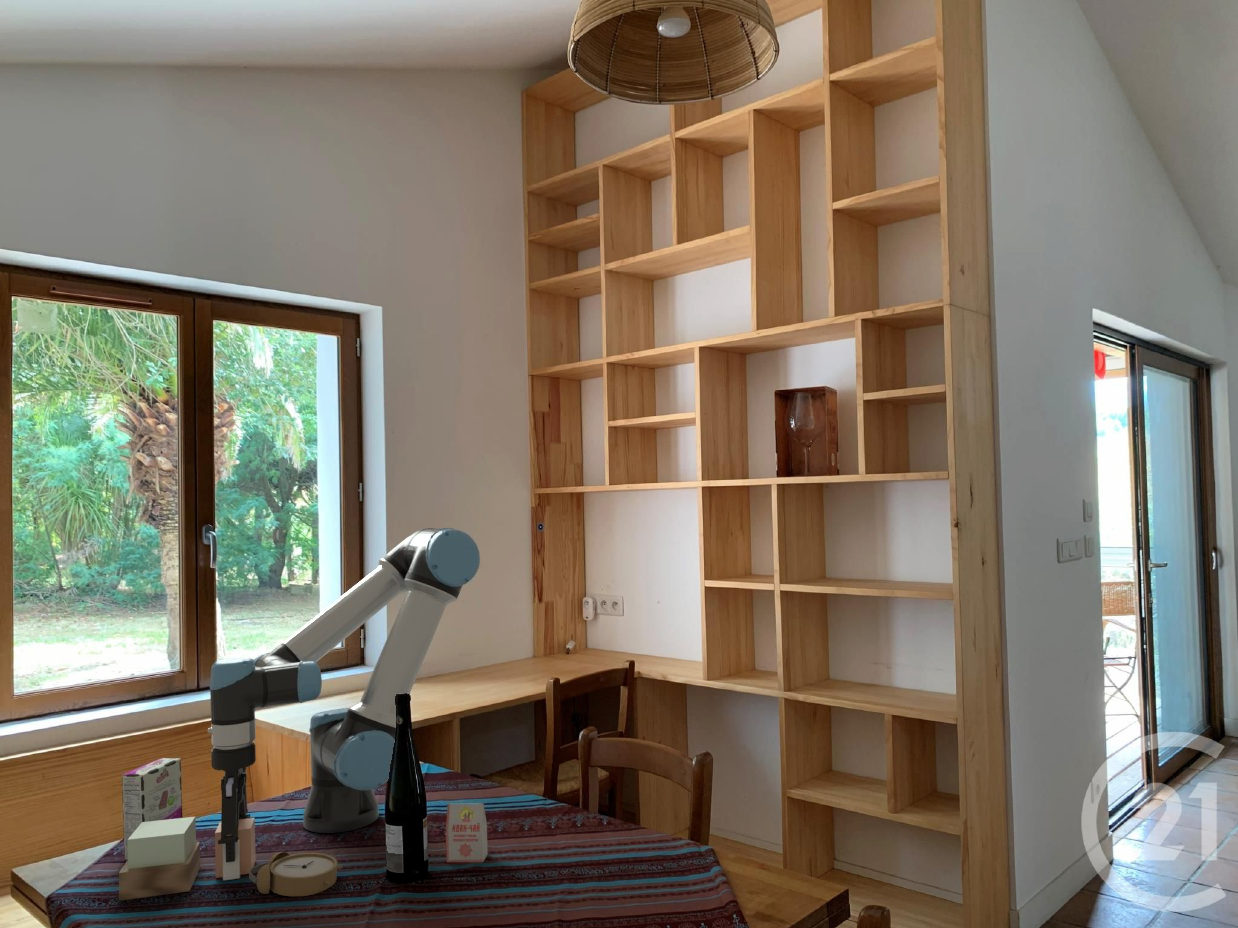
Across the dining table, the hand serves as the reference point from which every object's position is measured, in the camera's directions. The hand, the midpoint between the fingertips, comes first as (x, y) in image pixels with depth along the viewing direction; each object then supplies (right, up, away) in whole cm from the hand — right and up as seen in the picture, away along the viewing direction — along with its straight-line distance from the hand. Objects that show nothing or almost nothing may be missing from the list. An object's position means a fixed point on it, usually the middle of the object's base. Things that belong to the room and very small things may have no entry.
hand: (235, 867), depth 168 cm
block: (0, 0, 0) cm, 0 cm away
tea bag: (+42, +1, +1) cm, 42 cm away
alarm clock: (+13, 0, -8) cm, 15 cm away
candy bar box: (-21, -2, +11) cm, 23 cm away
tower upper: (-11, +4, -5) cm, 13 cm away
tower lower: (-11, -1, -5) cm, 12 cm away
